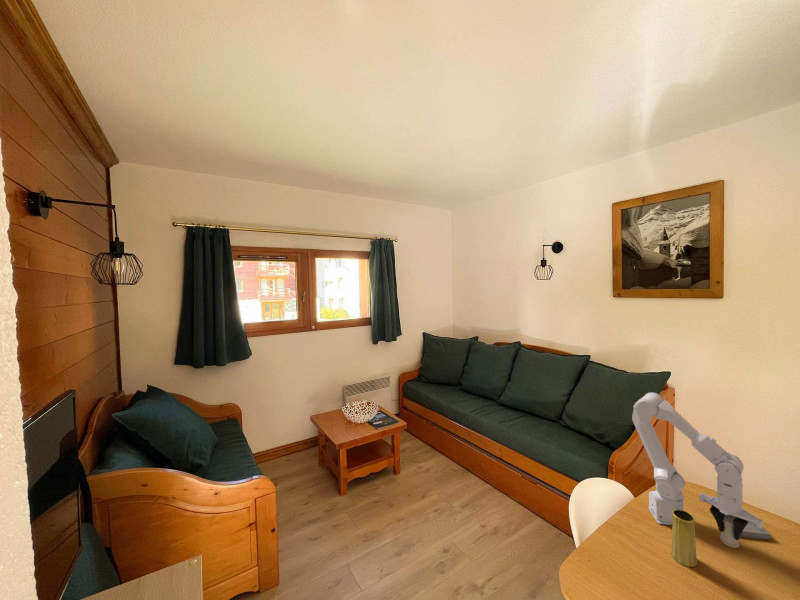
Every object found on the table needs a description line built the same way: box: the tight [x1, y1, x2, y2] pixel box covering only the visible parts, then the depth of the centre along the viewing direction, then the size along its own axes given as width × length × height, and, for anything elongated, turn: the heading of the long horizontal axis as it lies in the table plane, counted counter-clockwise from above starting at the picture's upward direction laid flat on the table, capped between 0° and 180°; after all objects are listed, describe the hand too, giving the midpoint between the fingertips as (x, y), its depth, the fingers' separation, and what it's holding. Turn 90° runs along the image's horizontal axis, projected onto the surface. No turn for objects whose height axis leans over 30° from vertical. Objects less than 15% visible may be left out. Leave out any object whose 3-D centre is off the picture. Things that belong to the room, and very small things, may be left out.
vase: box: [670, 509, 698, 568], centre depth 101 cm, size 6×6×14 cm
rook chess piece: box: [719, 517, 741, 549], centre depth 105 cm, size 4×4×8 cm
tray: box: [725, 515, 771, 541], centre depth 111 cm, size 9×9×2 cm
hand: (729, 534), depth 105 cm, fingers closed on rook chess piece, 3 cm apart
